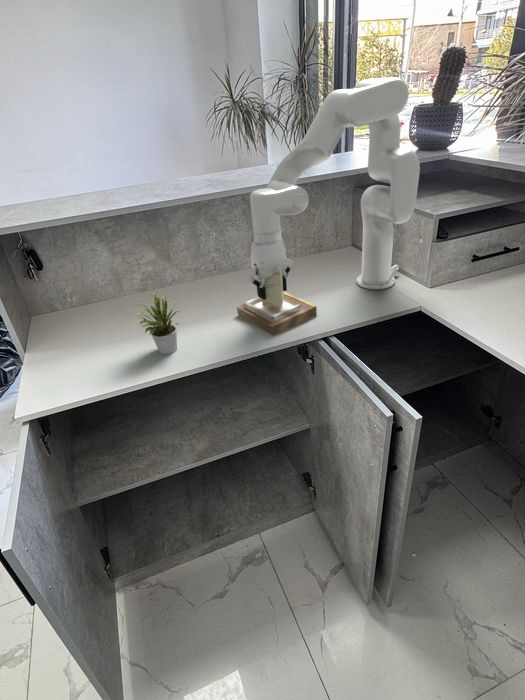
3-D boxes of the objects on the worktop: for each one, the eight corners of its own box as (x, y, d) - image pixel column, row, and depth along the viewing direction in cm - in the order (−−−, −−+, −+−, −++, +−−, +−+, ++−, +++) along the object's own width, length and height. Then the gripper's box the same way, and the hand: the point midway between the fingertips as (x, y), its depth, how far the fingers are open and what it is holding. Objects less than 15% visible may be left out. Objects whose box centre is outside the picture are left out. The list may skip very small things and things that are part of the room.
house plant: (136, 343, 128) (122, 293, 120) (182, 330, 133) (171, 281, 124) (146, 367, 117) (130, 313, 108) (195, 352, 121) (184, 299, 113)
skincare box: (262, 306, 131) (258, 268, 125) (264, 299, 135) (260, 262, 128) (283, 306, 130) (279, 268, 124) (284, 299, 134) (281, 262, 127)
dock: (279, 297, 146) (278, 285, 143) (316, 315, 133) (316, 302, 130) (237, 315, 138) (236, 302, 135) (272, 335, 125) (271, 322, 123)
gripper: (283, 225, 128) (287, 281, 137) (234, 241, 120) (241, 299, 129) (299, 230, 123) (302, 288, 132) (249, 247, 115) (256, 307, 124)
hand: (272, 293), depth 131 cm, fingers closed on skincare box, 7 cm apart
